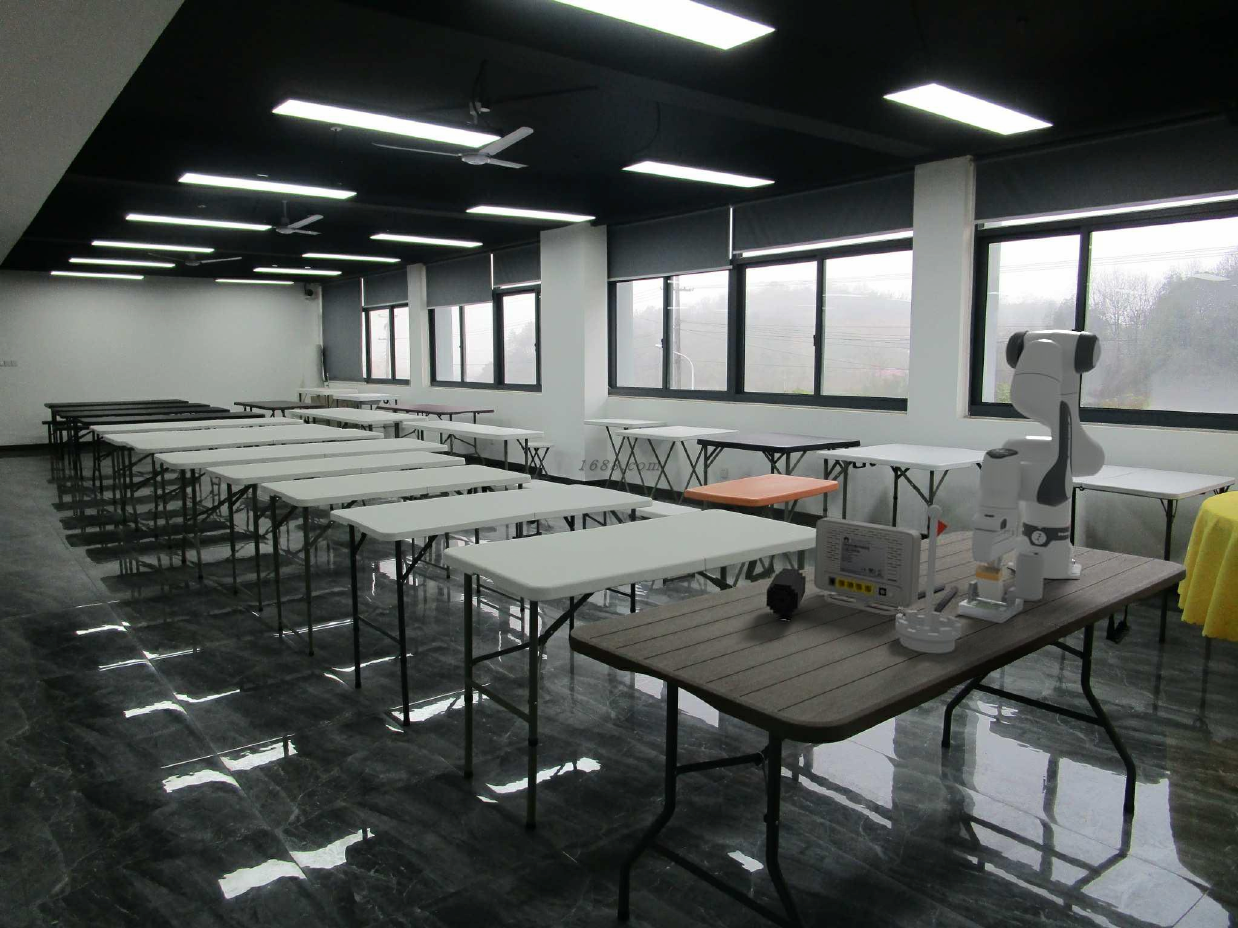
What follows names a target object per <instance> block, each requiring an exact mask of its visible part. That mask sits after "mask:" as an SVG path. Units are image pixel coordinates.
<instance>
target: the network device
mask: <svg viewBox="0 0 1238 928" xmlns="http://www.w3.org/2000/svg"><path fill="white" fill-rule="evenodd" d="M815 527H816V528H815V549H814V550H815V551H814V572H813V573H814V576H813V585H814V586H815V588H816V589H818V590H821V591H824V592H830V593H828V594H826V595H824V596H823V597H824V598H823V599H824V601H825V600H826V601H825V602H827V601H829V602H828V603H831V602H832V604H835V603H836V605H839V604H842V605H841V606H843V607H844V606H845V607H848V606H849V608H852V607H855V608H854V609H858V610H861V609H862V610H861V611H865V610H867V611H866V612H870V613H874V612H875V613H876V614H878V613H880V614H879V615H884V616H896V615H897V613H899V612H900V613H902V612H903V611H904V609H908V608H910V607H913V606H914V605H916V604H917V603H918V600H919V598H918V592H919V590H920V589H919V586H920V570H921V569H920V568H921V553H922V552H921V549H922V534H921V533H920V532H919V531H918V530H915V529H908V528H902V527H895V526H889V525H881V524H876V523H875V524H874V523H869V522H863V521H858V520H857V521H856V520H850V519H842V518H836V517H831V516H828V517H825V518H821V519H818V520H817V521H816V526H815ZM836 595H838V596H843V595H846V596H845V597H848V598H852V597H853V598H852V599H855V601H853V602H847V601H843V600H842V601H841V600H838V599H833V598H835V597H837V596H836ZM834 596H835V597H834ZM832 597H833V598H832ZM829 598H830V599H829ZM872 604H879V605H885V606H888V607H893V608H894V609H892V610H881V609H878V608H873V607H869V606H870V605H872ZM865 606H866V607H865ZM897 607H898V608H897Z"/></svg>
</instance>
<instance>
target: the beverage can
mask: <svg viewBox="0 0 1238 928" xmlns="http://www.w3.org/2000/svg"><path fill="white" fill-rule="evenodd" d="M1044 564H1045V558H1044V557H1043V553H1041V552H1037V551H1029V550H1022V551H1019V554H1018V555H1017V558H1016V571H1015V572H1014V573H1015V576H1014V587H1015V588H1017V590H1016V598H1020V599H1024V601H1023V602H1025V601H1026V602H1038V601H1040V600H1041V599H1042V598H1043V590H1044V589H1043V588H1044V578H1043V577H1044Z"/></svg>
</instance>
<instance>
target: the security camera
mask: <svg viewBox="0 0 1238 928" xmlns="http://www.w3.org/2000/svg"><path fill="white" fill-rule="evenodd" d="M806 578H807V577H806V576H805V575H803V572H800V569H798V568H787V567H783V568H782V569H781V570H779V572H778V573H776V574H775V576H774V577H773V579H772V581H771V582H770V584H769V585H768V587H767V588H766V602H765V603H766V607H769V611H772V614H775V615H779V619H786V620H790V621H791V619H792V617H793V613H795V611H796V610H799V607H800V605H801V602H802V600H803V598H804V595H805V594H806ZM791 616H792V617H791ZM790 618H791V619H790Z"/></svg>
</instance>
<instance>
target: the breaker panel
mask: <svg viewBox="0 0 1238 928" xmlns="http://www.w3.org/2000/svg"><path fill="white" fill-rule="evenodd" d="M1016 590H1017V588H1015V586H1011V587H1010V588H1008V589H1007V590H1006V596H1007V600H1006V603H1002V602H997V601H992V600H987V599H982V598H977V597H975V593H976V591H978V584H977V579H976V580H975V579H973V580H972V581H970V582H968V591H967V592H968V593H967V598H966V599H965V600H962V601H961V602H959V603H958V608H957V614H958V615H962V616H967V617H971V618H975V619H979V620H984V621H990V622H994V623H998V624H1004V622H1007V620H1009V619H1011V618H1013V616H1015V615H1016V614H1018V613H1020V612H1021V611H1022V610H1024V602H1025V601H1024V599H1020V598H1017V597H1016Z"/></svg>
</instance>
